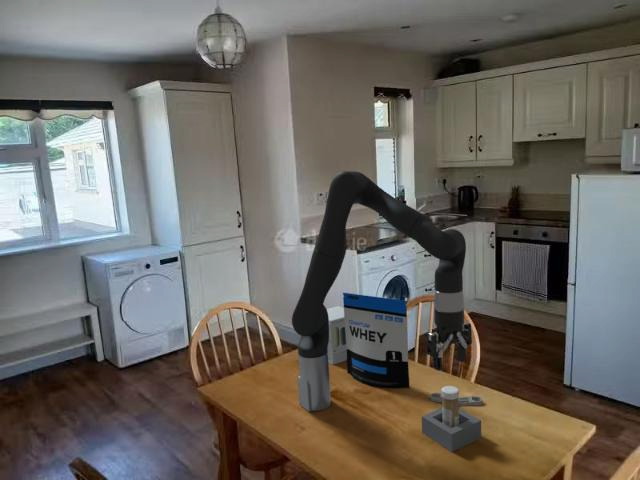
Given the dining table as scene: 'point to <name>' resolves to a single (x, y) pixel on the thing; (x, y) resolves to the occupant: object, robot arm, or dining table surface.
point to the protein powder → (377, 340)
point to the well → (451, 429)
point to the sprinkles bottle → (450, 406)
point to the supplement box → (336, 336)
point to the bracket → (459, 399)
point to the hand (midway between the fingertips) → (449, 365)
